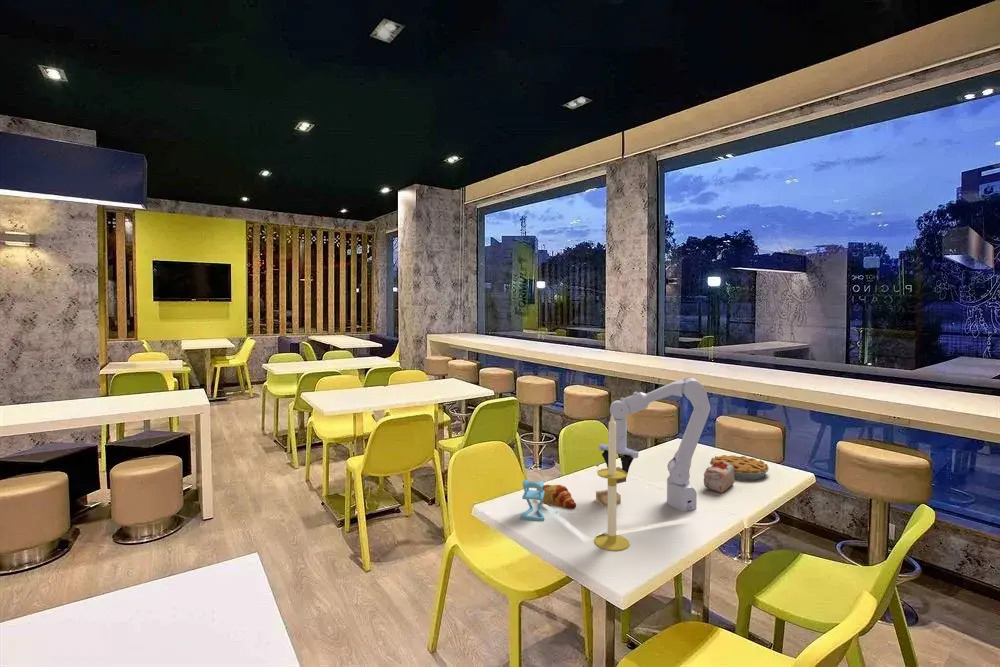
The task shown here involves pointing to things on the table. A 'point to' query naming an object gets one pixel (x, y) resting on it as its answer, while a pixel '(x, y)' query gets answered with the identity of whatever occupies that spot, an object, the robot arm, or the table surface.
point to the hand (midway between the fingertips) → (617, 474)
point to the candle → (612, 496)
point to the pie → (744, 466)
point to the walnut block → (620, 479)
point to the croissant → (558, 496)
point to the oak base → (606, 497)
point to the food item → (719, 476)
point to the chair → (533, 495)
